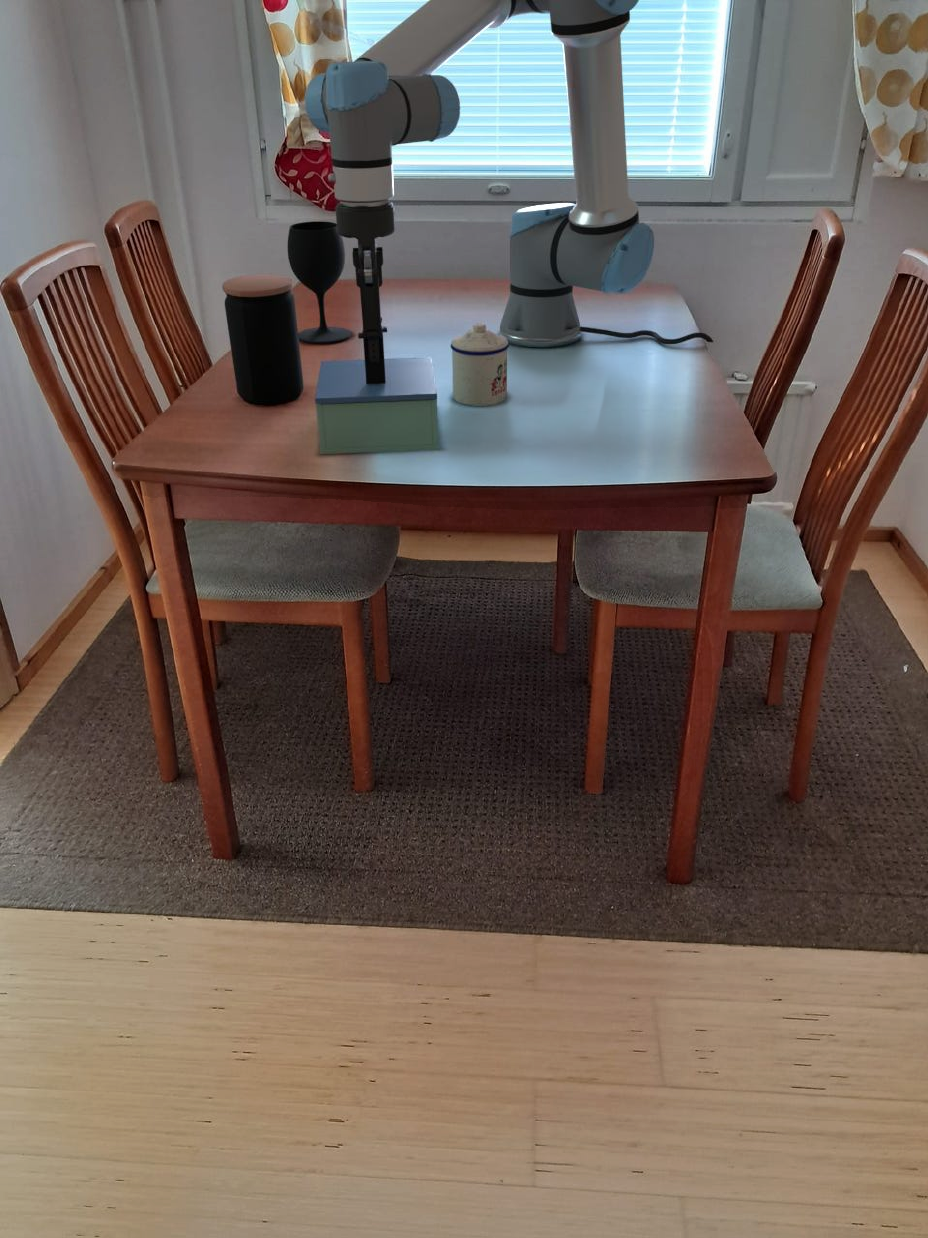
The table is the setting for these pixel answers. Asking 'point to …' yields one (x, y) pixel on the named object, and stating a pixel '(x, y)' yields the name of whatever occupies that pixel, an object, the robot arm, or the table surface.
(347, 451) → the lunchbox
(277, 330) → the coffee jar
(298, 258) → the wine glass
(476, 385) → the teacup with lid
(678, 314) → the table surface
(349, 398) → the lunchbox lid
